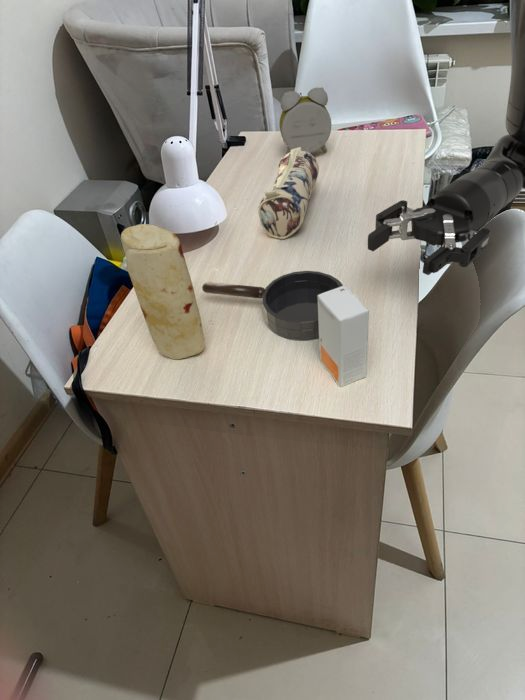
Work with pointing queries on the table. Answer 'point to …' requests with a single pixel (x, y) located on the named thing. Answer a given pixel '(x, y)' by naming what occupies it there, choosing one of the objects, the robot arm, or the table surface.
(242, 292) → the pan handle
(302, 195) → the pencil case
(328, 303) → the cosmetic box
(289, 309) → the frying pan
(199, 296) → the table surface
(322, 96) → the alarm clock
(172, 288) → the food model
